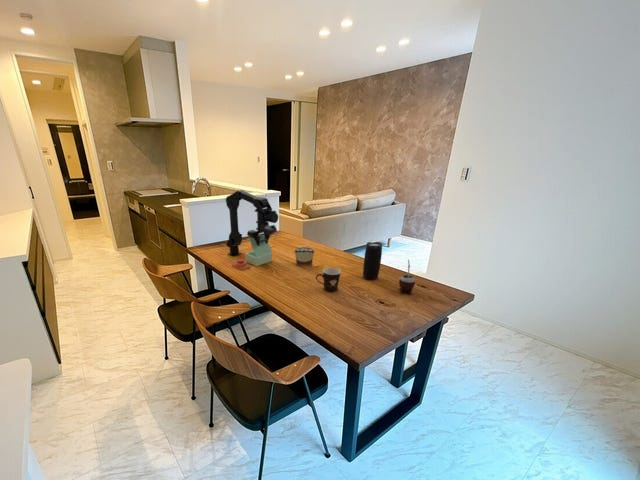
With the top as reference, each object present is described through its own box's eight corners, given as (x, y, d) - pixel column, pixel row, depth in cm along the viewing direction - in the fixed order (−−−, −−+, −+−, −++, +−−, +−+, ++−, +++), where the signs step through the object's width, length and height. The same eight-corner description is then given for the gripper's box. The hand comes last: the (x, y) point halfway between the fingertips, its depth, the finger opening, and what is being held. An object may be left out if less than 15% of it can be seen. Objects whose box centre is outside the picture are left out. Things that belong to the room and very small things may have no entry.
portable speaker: (376, 274, 168) (381, 241, 160) (379, 281, 159) (384, 246, 151) (361, 273, 169) (365, 240, 161) (363, 280, 161) (367, 246, 153)
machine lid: (249, 238, 181) (253, 236, 177) (264, 234, 188) (269, 232, 184) (255, 257, 181) (260, 255, 177) (271, 252, 188) (275, 250, 184)
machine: (245, 261, 191) (245, 253, 189) (260, 256, 198) (260, 249, 196) (256, 266, 183) (256, 258, 181) (272, 261, 190) (271, 253, 188)
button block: (232, 266, 184) (231, 261, 183) (240, 263, 188) (240, 258, 187) (241, 270, 177) (241, 265, 176) (250, 267, 181) (249, 263, 180)
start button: (236, 262, 182) (236, 260, 181) (241, 261, 184) (241, 258, 183) (240, 264, 179) (239, 261, 178) (244, 262, 181) (244, 260, 180)
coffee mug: (340, 286, 154) (341, 269, 150) (337, 294, 147) (339, 275, 143) (318, 284, 158) (319, 266, 154) (314, 291, 151) (315, 272, 146)
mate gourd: (406, 296, 144) (411, 267, 138) (393, 289, 150) (397, 262, 144) (416, 292, 147) (422, 264, 141) (403, 286, 153) (408, 259, 147)
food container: (313, 261, 188) (314, 246, 184) (314, 265, 182) (314, 250, 178) (294, 261, 189) (294, 246, 185) (294, 265, 183) (294, 249, 179)
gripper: (258, 225, 165) (258, 251, 172) (282, 220, 176) (282, 245, 183) (246, 221, 173) (247, 246, 179) (270, 216, 184) (270, 240, 190)
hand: (262, 244), depth 183 cm, fingers closed on machine lid, 6 cm apart
